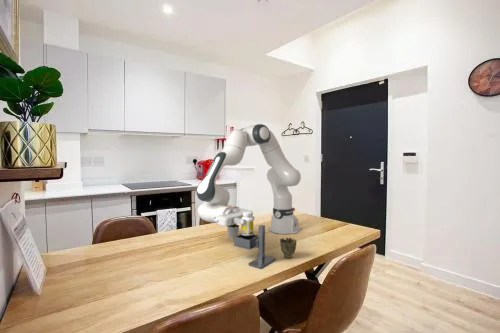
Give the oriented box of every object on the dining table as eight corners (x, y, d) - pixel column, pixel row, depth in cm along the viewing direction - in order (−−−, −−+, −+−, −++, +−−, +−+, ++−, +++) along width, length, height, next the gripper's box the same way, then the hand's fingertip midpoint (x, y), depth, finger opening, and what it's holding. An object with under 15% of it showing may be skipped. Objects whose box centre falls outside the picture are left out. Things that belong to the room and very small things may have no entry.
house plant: (249, 233, 159) (249, 205, 159) (246, 240, 146) (246, 210, 145) (225, 232, 161) (225, 205, 160) (220, 239, 147) (220, 210, 146)
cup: (283, 261, 118) (283, 243, 117) (277, 255, 125) (277, 238, 124) (299, 259, 120) (299, 241, 119) (292, 253, 127) (292, 236, 126)
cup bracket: (247, 252, 128) (248, 219, 127) (275, 259, 119) (275, 224, 118) (231, 260, 118) (231, 224, 118) (260, 269, 109) (260, 230, 109)
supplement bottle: (253, 232, 123) (253, 211, 123) (253, 236, 118) (253, 213, 117) (241, 232, 123) (241, 211, 123) (241, 236, 117) (241, 213, 117)
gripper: (210, 212, 119) (234, 217, 111) (238, 206, 136) (261, 209, 127) (210, 226, 119) (234, 232, 111) (238, 218, 136) (261, 222, 128)
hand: (249, 220), depth 119 cm, fingers closed on supplement bottle, 5 cm apart
